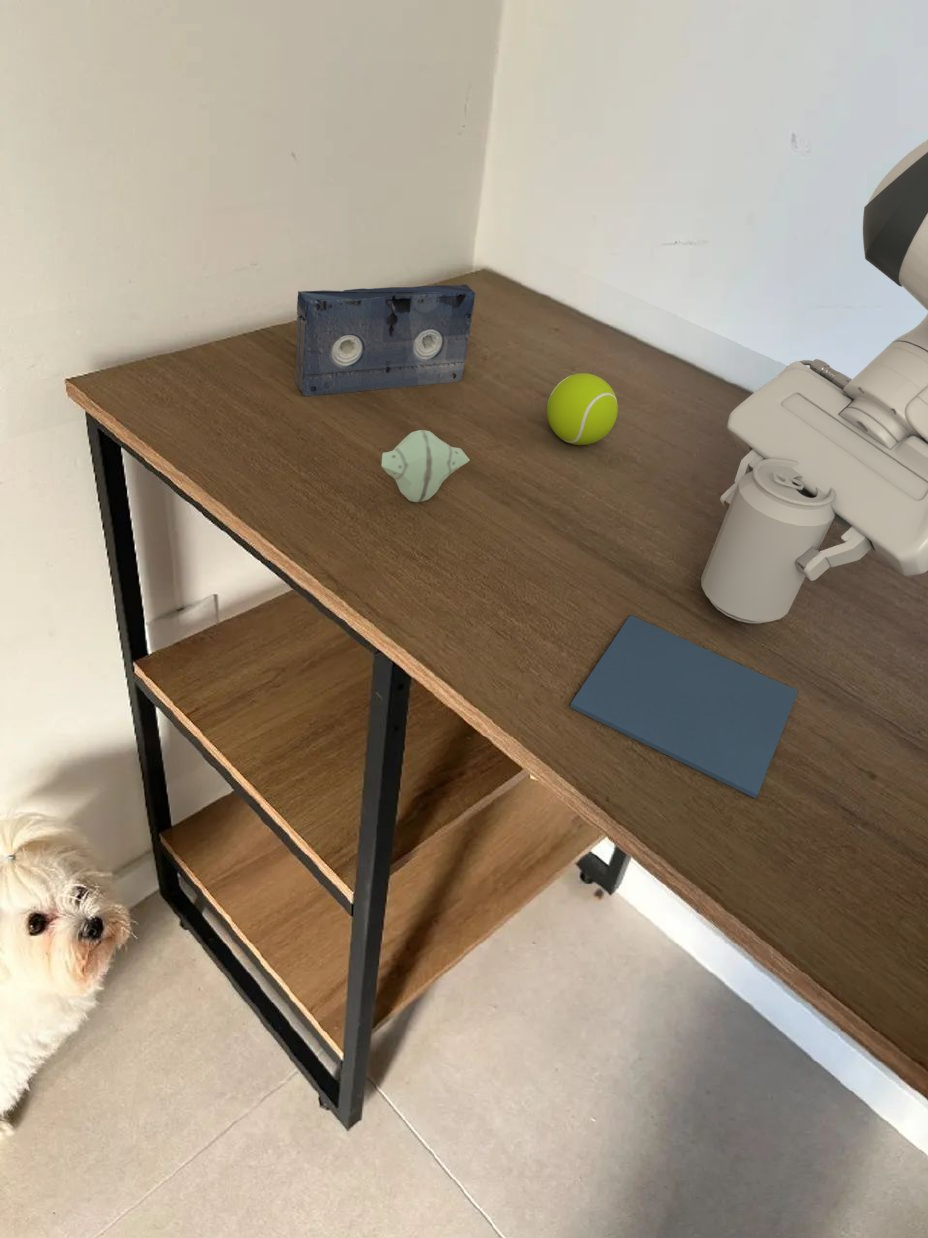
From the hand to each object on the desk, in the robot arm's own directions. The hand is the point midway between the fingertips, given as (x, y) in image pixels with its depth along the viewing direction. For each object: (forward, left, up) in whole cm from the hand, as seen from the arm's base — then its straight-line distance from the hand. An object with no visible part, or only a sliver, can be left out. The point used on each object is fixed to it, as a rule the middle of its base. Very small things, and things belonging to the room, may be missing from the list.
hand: (764, 539), depth 73 cm
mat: (0, +12, -8) cm, 15 cm away
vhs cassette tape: (+43, -13, -8) cm, 45 cm away
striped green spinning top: (+29, +3, -8) cm, 30 cm away
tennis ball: (+22, -17, -8) cm, 29 cm away
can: (0, -1, -7) cm, 7 cm away
